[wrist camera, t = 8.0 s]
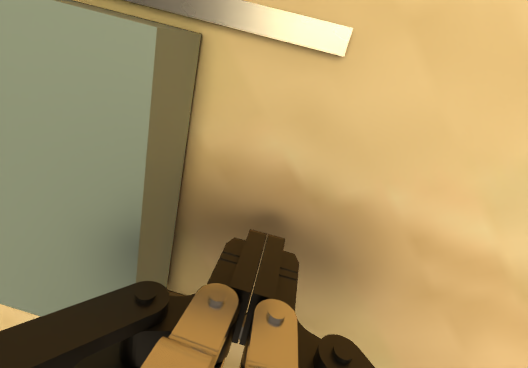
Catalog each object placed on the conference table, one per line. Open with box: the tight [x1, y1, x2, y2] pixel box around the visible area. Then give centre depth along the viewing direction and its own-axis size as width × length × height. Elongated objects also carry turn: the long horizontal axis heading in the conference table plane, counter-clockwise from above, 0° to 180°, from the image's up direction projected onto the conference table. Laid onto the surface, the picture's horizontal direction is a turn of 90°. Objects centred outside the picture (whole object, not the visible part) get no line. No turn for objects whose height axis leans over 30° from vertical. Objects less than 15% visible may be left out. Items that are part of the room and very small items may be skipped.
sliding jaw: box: [0, 0, 201, 317], centre depth 14 cm, size 11×14×4 cm
